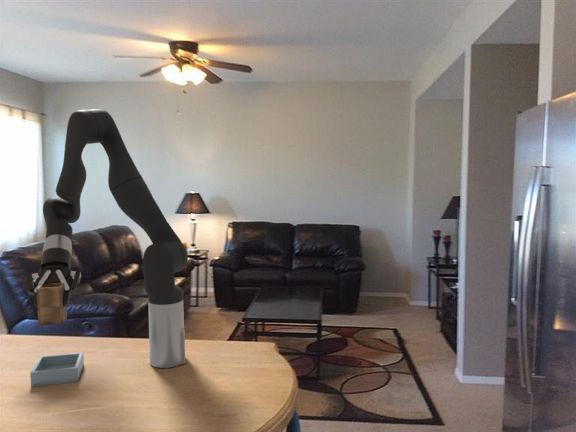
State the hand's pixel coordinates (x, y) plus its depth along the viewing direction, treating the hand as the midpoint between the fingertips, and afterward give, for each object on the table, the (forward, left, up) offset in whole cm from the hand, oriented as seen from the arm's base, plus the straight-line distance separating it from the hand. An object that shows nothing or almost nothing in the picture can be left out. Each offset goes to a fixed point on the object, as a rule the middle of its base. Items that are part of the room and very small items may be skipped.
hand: (51, 305), depth 131 cm
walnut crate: (0, -2, -5) cm, 5 cm away
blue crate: (-2, +8, -16) cm, 18 cm away
